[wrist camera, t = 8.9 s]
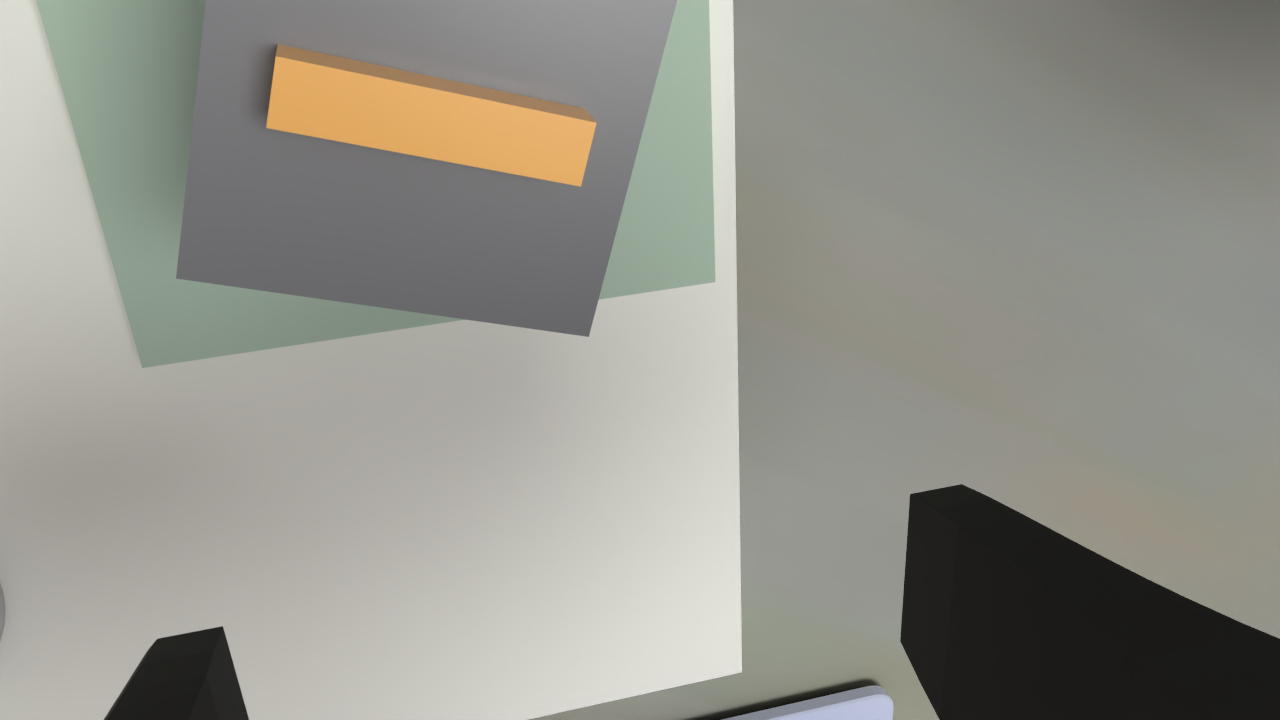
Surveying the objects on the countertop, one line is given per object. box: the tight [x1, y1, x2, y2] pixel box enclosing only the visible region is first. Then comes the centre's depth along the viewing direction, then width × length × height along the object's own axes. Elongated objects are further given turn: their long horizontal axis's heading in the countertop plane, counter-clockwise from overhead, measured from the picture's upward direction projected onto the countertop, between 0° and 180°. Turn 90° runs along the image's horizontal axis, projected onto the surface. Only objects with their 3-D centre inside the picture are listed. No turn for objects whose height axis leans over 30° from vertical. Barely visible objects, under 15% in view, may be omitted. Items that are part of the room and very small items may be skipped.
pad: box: [36, 0, 715, 368], centre depth 16 cm, size 9×9×1 cm
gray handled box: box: [176, 0, 677, 337], centre depth 14 cm, size 5×5×5 cm
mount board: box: [0, 0, 742, 720], centre depth 16 cm, size 19×20×6 cm
